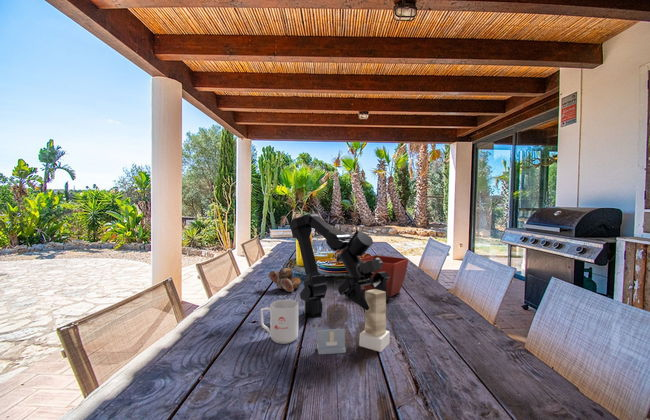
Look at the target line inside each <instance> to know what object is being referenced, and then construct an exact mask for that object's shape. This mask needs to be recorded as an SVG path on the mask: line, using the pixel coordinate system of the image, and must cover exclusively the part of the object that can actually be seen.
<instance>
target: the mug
mask: <svg viewBox="0 0 650 420" xmlns="http://www.w3.org/2000/svg"><path fill="white" fill-rule="evenodd" d="M299 307H300V306H299V301H296V300H292V299H278V300H275V301H272V302H271V303H270V307H262V308H260V325H261V327H262V328H263V329H264V330H265V331H267V332H268V333H269V335H270V339H271V340H272V341H273V342H275V343H276V344H281V345H282V344H283V345H284V344H285V345H286V344H291V343H294V341H296V339H297V338H298V336H299ZM264 311H268V312H270V318H269V319H270V322H269V323H270V325H269V326H270V327H268V326H267V325H265V323H264Z"/></svg>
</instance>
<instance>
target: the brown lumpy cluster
mask: <svg viewBox="0 0 650 420" xmlns="http://www.w3.org/2000/svg"><path fill="white" fill-rule="evenodd" d="M293 273H294V272H293V270H292V268H289V267H285V268H282V269H281V270H280V271H279V272H278V271H277V270H271V271H269V274H268V277H269V278H270V281H272V282H273V283H275V284H276V287H277V289H279V290H285V291H286V292H290V293H294V291H295V289H299V288H300V286H301V284H302V282H303V281H302V279H301V278H299V277H296V276H293Z"/></svg>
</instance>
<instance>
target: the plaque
mask: <svg viewBox="0 0 650 420" xmlns="http://www.w3.org/2000/svg"><path fill="white" fill-rule="evenodd" d="M316 350H317V353H318V355H330V354H331V355H332V354H344V353H347V349H346V329H345V328H333V329H332V328H331V329H317V344H316Z"/></svg>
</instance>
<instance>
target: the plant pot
mask: <svg viewBox="0 0 650 420" xmlns="http://www.w3.org/2000/svg"><path fill="white" fill-rule="evenodd" d="M375 258H380V260H381V261H382V262H383V266H382V267H381V270H377V271H374V274H373V275H372V276H371V278H372V277H373V276H374V275H375V274H376V273H378V272H383V271H384V272H387V273H388V275H389V276H390V278H389V279H388V281H387V283H386V290H387V294H388V298H391V297H393V296H395V295H397V294H400V292H401V290H402V288H403V287H402V286H403V284H404V281H405V278H406V274H407V268H408V265H409V264H408V263H409V258H405V257H395V256H385V255H376V254H375V255H374V254H373V255H371V256H370V255H369V256H366V257H362V258H360V259H361V261H362V262H363V261H365V262H368V261H372V259H375ZM363 288H364V292H365V291H368V290H372V289H374V288H373V287H372V286H371V285H370V284H369V285H365V286H363Z"/></svg>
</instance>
